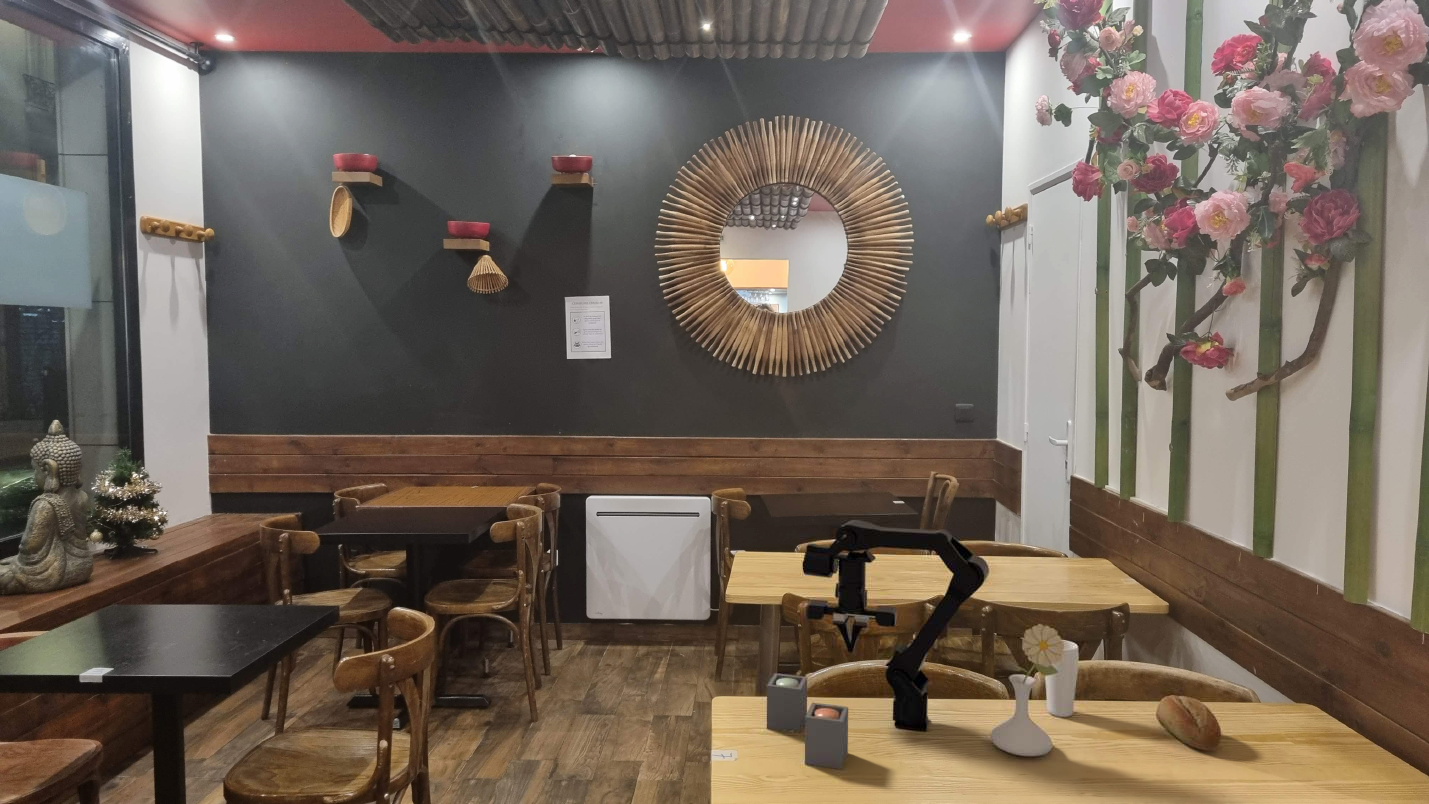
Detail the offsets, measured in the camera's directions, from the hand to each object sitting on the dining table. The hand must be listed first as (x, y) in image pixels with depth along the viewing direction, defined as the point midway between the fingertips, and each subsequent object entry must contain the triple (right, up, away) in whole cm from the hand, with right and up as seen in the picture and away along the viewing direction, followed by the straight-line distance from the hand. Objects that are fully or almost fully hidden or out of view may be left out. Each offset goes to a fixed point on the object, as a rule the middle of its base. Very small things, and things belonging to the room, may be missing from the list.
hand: (850, 652), depth 179 cm
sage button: (-14, -7, -6) cm, 17 cm away
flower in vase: (+31, -14, -16) cm, 38 cm away
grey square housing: (-8, -14, -20) cm, 26 cm away
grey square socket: (-14, -13, -5) cm, 20 cm away
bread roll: (+66, -14, -11) cm, 68 cm away
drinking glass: (+45, -13, 0) cm, 47 cm away
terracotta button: (-8, -8, -21) cm, 24 cm away
